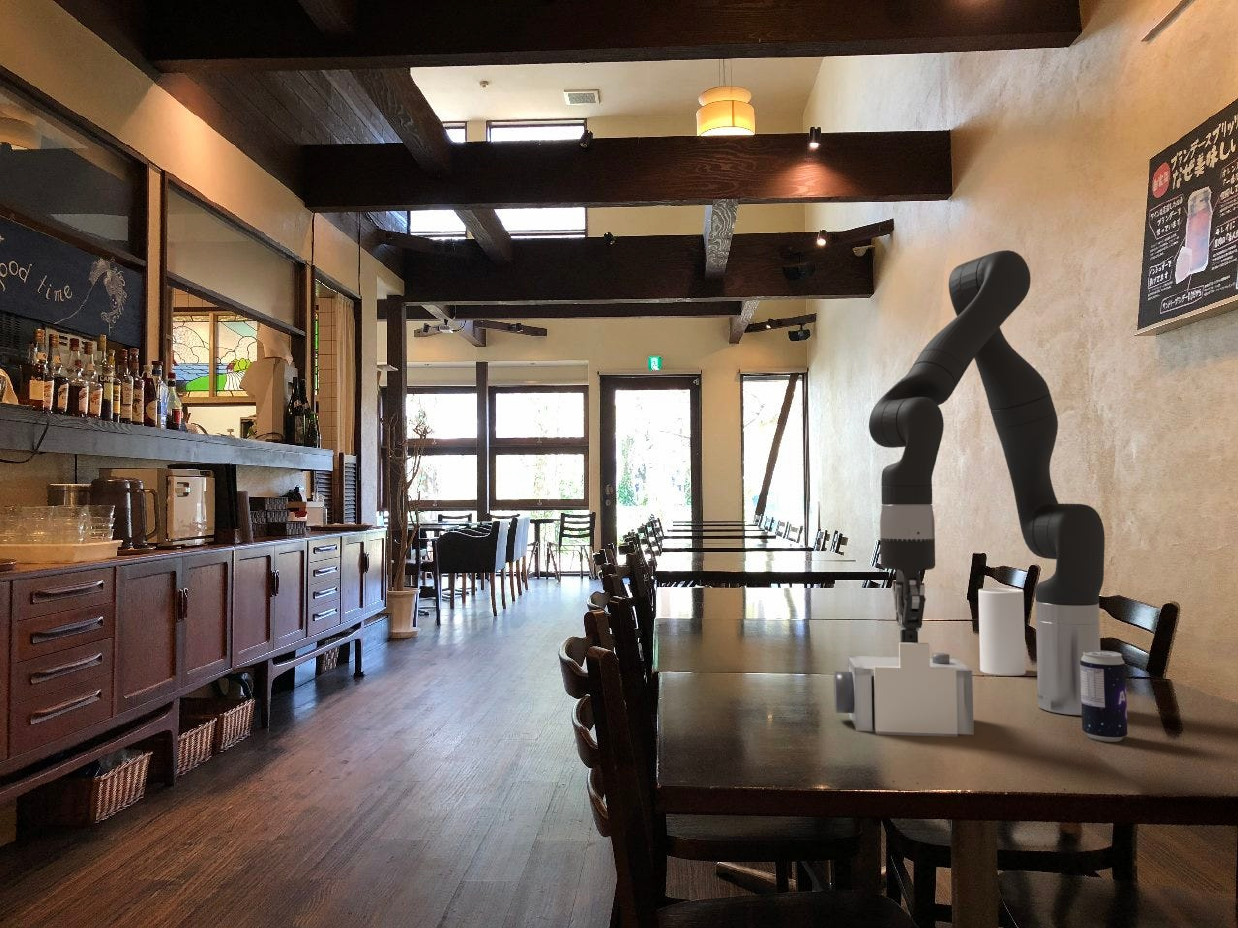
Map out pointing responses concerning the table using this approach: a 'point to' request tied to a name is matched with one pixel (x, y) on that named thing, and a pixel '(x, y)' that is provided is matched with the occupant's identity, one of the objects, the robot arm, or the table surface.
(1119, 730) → the beverage can
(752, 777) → the table surface
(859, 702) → the camera housing
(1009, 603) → the cup
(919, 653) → the side door
